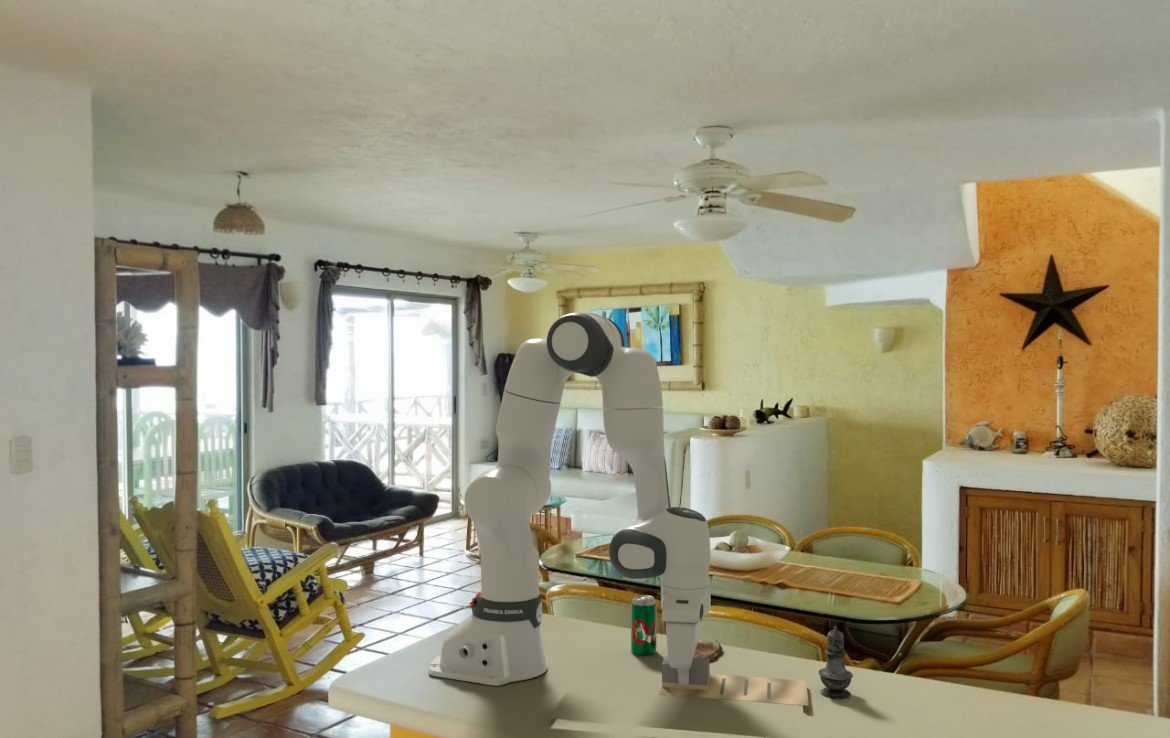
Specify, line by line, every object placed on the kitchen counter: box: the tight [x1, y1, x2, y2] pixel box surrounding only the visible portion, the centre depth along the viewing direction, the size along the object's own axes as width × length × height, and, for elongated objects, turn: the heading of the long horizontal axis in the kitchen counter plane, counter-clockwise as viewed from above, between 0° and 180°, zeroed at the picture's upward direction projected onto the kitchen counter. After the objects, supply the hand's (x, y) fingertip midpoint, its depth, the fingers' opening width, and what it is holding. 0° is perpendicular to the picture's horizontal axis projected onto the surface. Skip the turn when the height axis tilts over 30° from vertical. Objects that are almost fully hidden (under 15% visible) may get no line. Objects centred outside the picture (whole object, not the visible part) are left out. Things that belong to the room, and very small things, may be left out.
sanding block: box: [661, 654, 711, 690], centre depth 154 cm, size 8×5×4 cm, turn 78°
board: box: [659, 673, 810, 714], centre depth 152 cm, size 25×12×1 cm, turn 78°
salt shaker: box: [818, 625, 854, 700], centre depth 152 cm, size 6×6×12 cm
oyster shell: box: [694, 639, 723, 663], centre depth 172 cm, size 13×10×3 cm
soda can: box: [630, 594, 657, 657], centre depth 172 cm, size 5×5×12 cm
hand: (685, 677), depth 154 cm, fingers closed on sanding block, 5 cm apart
